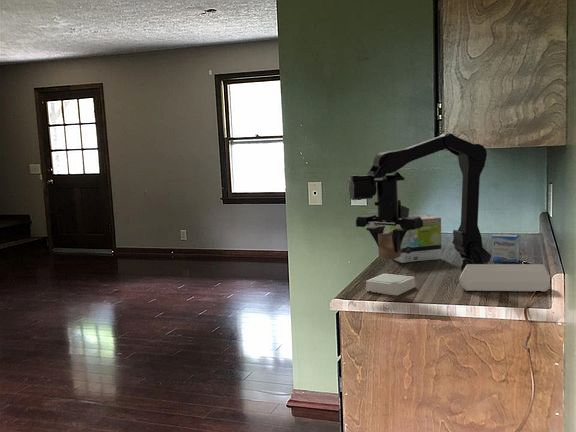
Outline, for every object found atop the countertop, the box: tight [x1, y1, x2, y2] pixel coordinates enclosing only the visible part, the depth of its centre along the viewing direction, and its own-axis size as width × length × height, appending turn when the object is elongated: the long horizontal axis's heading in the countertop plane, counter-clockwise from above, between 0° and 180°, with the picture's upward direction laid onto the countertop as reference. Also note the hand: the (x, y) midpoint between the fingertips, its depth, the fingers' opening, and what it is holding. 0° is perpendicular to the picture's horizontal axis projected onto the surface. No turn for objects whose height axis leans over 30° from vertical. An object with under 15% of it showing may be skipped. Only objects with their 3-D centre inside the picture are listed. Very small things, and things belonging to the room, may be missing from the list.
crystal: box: [459, 263, 551, 293], centre depth 163 cm, size 7×7×24 cm
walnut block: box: [377, 230, 401, 260], centre depth 169 cm, size 4×4×7 cm
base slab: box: [365, 273, 416, 297], centre depth 170 cm, size 10×10×3 cm
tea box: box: [389, 214, 442, 264], centre depth 207 cm, size 15×10×15 cm
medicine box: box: [491, 233, 520, 264], centre depth 196 cm, size 8×4×9 cm, turn 62°
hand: (389, 252), depth 169 cm, fingers closed on walnut block, 4 cm apart
